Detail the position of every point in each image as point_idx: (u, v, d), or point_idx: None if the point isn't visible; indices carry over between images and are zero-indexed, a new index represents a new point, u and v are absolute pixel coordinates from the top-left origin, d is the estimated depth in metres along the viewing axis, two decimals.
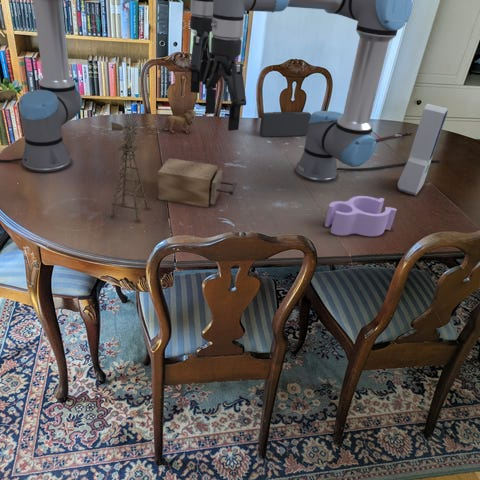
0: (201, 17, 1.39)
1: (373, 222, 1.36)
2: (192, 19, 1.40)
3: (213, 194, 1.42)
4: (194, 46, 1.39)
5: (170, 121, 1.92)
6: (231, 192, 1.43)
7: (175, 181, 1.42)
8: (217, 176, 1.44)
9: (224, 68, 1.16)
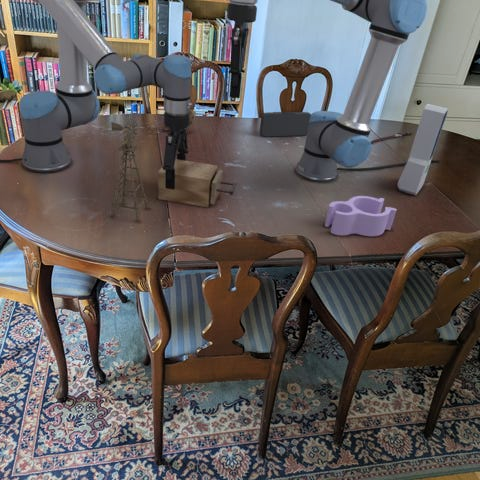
0: (174, 115, 1.33)
1: (373, 222, 1.36)
2: (165, 117, 1.34)
3: (213, 194, 1.42)
4: (167, 146, 1.34)
5: None
6: (231, 192, 1.43)
7: (175, 181, 1.42)
8: (217, 176, 1.44)
9: None
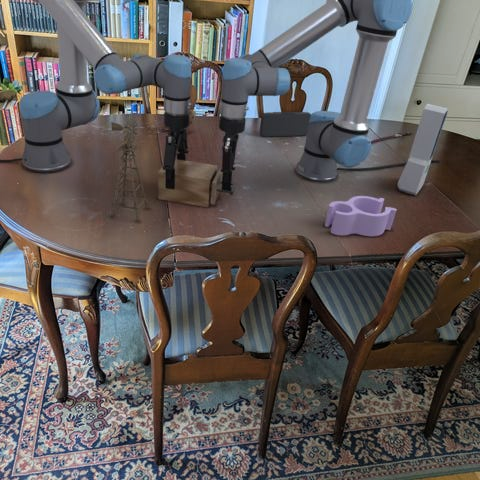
0: (174, 115, 1.33)
1: (373, 222, 1.36)
2: (165, 117, 1.34)
3: (213, 194, 1.42)
4: (167, 146, 1.34)
5: None
6: (231, 192, 1.43)
7: (175, 181, 1.42)
8: (217, 176, 1.44)
9: None
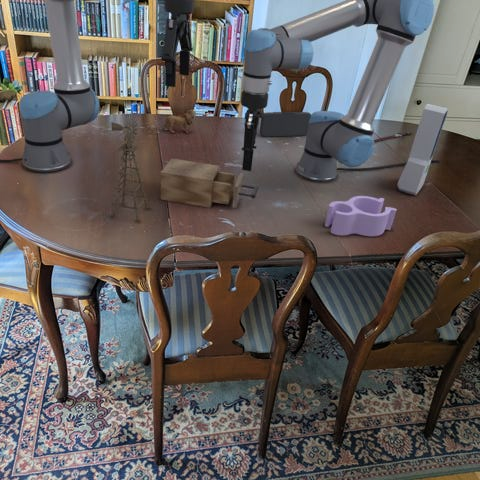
0: None
1: (373, 222, 1.36)
2: None
3: (235, 198, 1.42)
4: (167, 31, 1.18)
5: (170, 121, 1.92)
6: (253, 196, 1.42)
7: (178, 181, 1.42)
8: (239, 180, 1.44)
9: None
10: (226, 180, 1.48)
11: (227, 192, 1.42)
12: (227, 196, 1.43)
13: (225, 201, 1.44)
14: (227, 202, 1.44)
